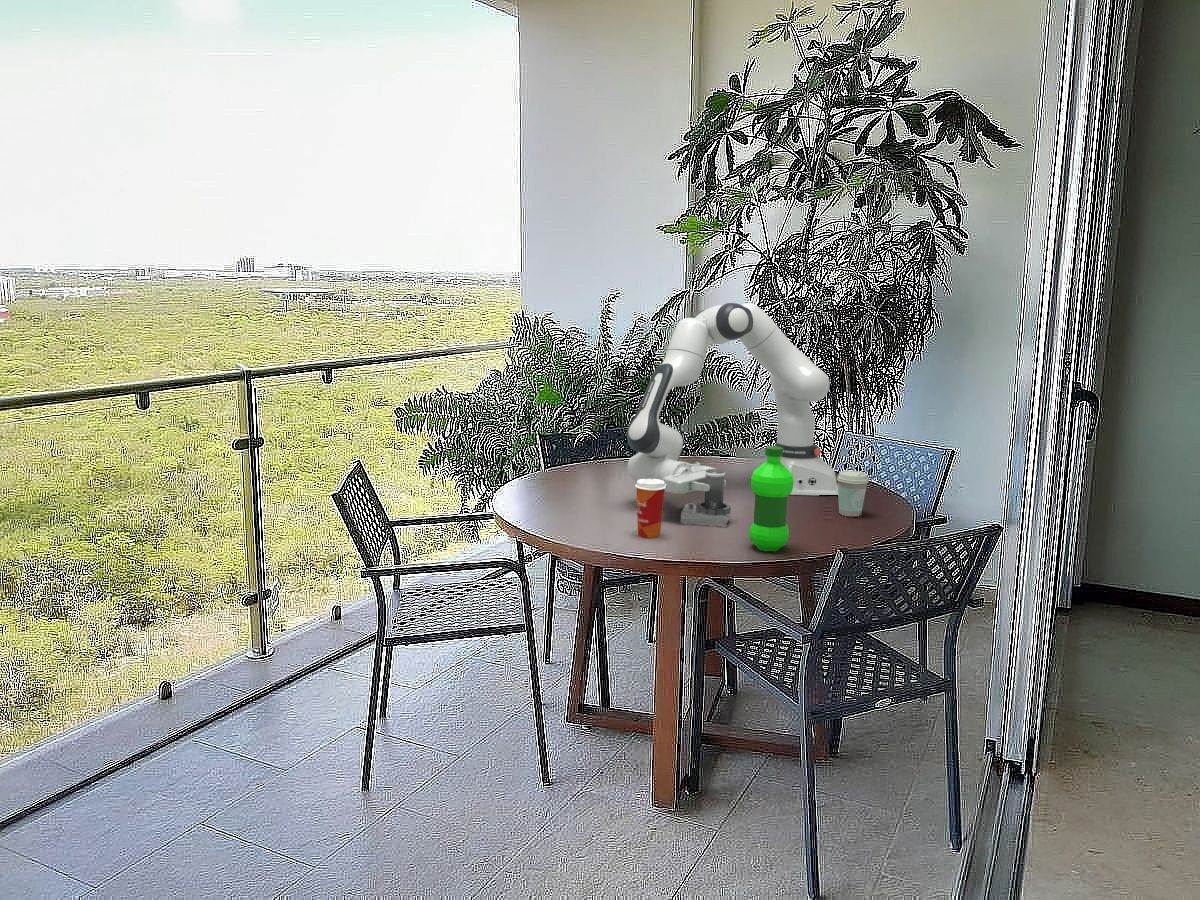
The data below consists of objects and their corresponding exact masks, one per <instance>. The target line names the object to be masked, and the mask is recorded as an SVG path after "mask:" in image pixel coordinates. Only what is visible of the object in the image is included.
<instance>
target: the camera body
mask: <svg viewBox="0 0 1200 900" xmlns="http://www.w3.org/2000/svg"><path fill="white" fill-rule="evenodd" d="M731 508H732V505H731V504H729V503H727V502H723V508H722V509H710V508H705V507H704V501H700V502H697V503H696V504H694V503H687V504H685V505H684V506H683V509H682V511H681V512H680V524H681V523H683V525H693V524H695V525H694V526H704V525H710V526H709V527H716V526H725V527H724V528H727V526H726V525H728V524H729V521H730V519H729V518H730V516H731V512H732V511H731V510H732V509H731ZM728 520H729V521H728ZM727 523H728V524H727Z"/></svg>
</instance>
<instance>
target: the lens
mask: <svg viewBox="0 0 1200 900" xmlns="http://www.w3.org/2000/svg"><path fill="white" fill-rule="evenodd" d="M725 476H726V472H725V470H723V469H721V468H719V469H718V468H716V469H708V470H706V471H705V483H708V484H711V486H712V487H711V490H710V491H704V501H703V502H704V507H705V508H710V509H722V508H723V503H724V493H725V492H724V490H725V487H724V480H725Z"/></svg>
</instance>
